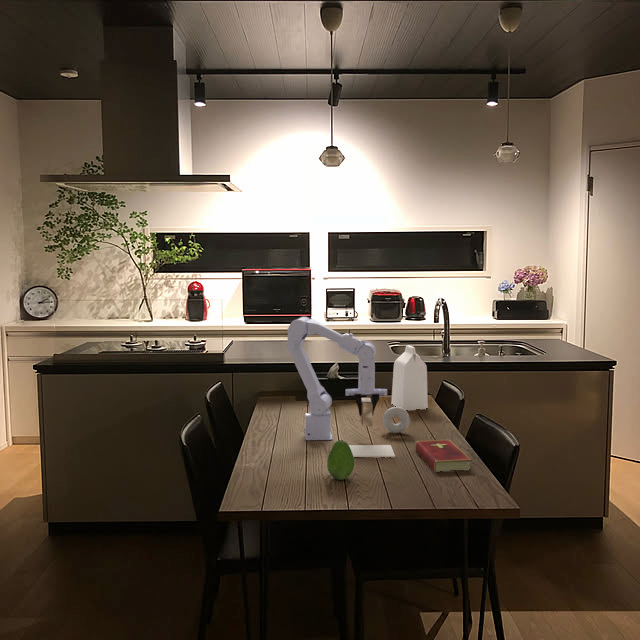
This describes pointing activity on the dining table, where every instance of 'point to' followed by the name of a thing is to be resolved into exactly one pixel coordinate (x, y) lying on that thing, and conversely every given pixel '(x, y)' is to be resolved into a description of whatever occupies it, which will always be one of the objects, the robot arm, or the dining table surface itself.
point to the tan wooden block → (366, 412)
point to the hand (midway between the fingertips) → (366, 415)
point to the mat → (372, 451)
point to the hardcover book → (442, 455)
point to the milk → (410, 381)
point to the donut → (402, 424)
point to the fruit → (340, 460)
